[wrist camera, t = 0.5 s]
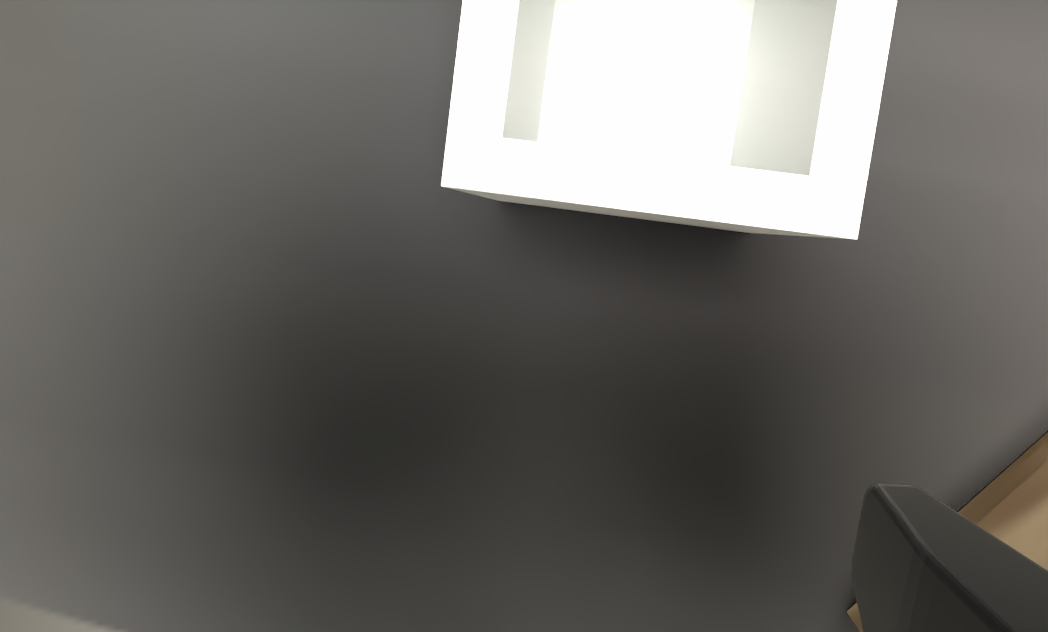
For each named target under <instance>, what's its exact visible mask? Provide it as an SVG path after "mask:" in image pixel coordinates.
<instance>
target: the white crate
mask: <svg viewBox="0 0 1048 632" xmlns="http://www.w3.org/2000/svg"><path fill="white" fill-rule="evenodd" d="M896 3H897V0H463V3H462V11H461V19H460V28H459V36H458V45H457V53H456V62H455V70H454V79H453V87H452V96H451V104H450V113H449V121H448V130H447V138H446V147H445V155H444V164H443V172H442V181H441V186H442V187H446V188H450V189H454V190H458V191H462V192H466V193H470V194H474V195H478V196H482V197H486V198H490V199H494V200H498V201H504V202H512V203H520V204H527V205H535V206H543V207H551V208H559V209H566V210H574V211H582V212H590V213H597V214H605V215H613V216H621V217H629V218H636V219H644V220H652V221H660V222H667V223H675V224H683V225H691V226H699V227H706V228H714V229H722V230H730V231H737V232H745V233H758V234H775V235H791V236H807V237H824V238H840V239H857V238H858V232H859V226H860V220H861V214H862V208H863V202H864V196H865V190H866V184H867V178H868V172H869V166H870V160H871V154H872V148H873V142H874V136H875V130H876V124H877V118H878V112H879V106H880V100H881V94H882V88H883V82H884V76H885V70H886V64H887V58H888V51H889V45H890V39H891V33H892V27H893V21H894V15H895V9H896Z"/></svg>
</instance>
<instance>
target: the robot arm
mask: <svg viewBox="0 0 1048 632" xmlns="http://www.w3.org/2000/svg"><path fill="white" fill-rule="evenodd" d="M852 578H853V585H854V590H855V595H856V600H857V605H858V610H859V615H860V620H861V625H862V629H863V632H1048V570H1046V569H1045V568H1043V567H1042V566H1040V565H1038V564H1037V563H1035V562H1034V561H1032V560H1031V559H1029V558H1028V557H1026V556H1025V555H1023V554H1021V553H1020V552H1018V551H1017V550H1015V549H1014V548H1012V547H1011V546H1009V545H1007V544H1006V543H1004V542H1003V541H1001V540H1000V539H998V538H997V537H995V536H994V535H992V534H990V533H989V532H987V531H986V530H984V529H983V528H981V527H980V526H978V525H977V524H975V523H973V522H972V521H970V520H969V519H967V518H966V517H964V516H963V515H961V514H959V513H958V512H956V511H955V510H953V509H952V508H950V507H949V506H947V505H946V504H944V503H942V502H941V501H939V500H938V499H936V498H935V497H933V496H932V495H930V494H929V493H927V492H925V491H924V490H922V489H921V488H919V487H917V486H913V485H901V484H881V483H879V484H873V485H871V486H870V487H869V488H868V490H867V492H866V494H865V496H864V500H863V505H862V511H861V516H860V521H859V526H858V532H857V537H856V542H855V548H854V553H853V559H852Z"/></svg>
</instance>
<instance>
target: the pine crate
mask: <svg viewBox="0 0 1048 632" xmlns="http://www.w3.org/2000/svg"><path fill="white" fill-rule="evenodd" d="M958 513H959V514H961V515H963V516H964V517H966V518H967V519H969V520H970V521H972V522H973V523H975V524H977V525H978V526H980V527H981V528H983V529H984V530H986V531H987V532H989V533H990V534H992V535H994V536H995V537H997V538H998V539H1000V540H1001V541H1003V542H1004V543H1006V544H1007V545H1009V546H1011V547H1012V548H1014V549H1015V550H1017V551H1018V552H1020V553H1021V554H1023V555H1025V556H1026V557H1028V558H1029V559H1031V560H1032V561H1034V562H1035V563H1037V564H1038V565H1040V566H1042V567H1043V568H1045V569H1046V570H1048V432H1047V433H1046V434H1045V435H1044V436H1043V437H1042V438H1040V439H1039V440H1038V441H1037V442H1036V443H1035V444H1034V445H1033V446H1031V447H1030V448H1029V449H1028V450H1027V451H1026V452H1025V453H1024V454H1023V455H1021V456H1020V457H1019V458H1018V459H1017V460H1016V461H1015V462H1014V463H1012V464H1011V465H1010V466H1009V467H1008V468H1007V469H1006V470H1005V471H1003V472H1002V473H1001V474H1000V475H999V476H998V477H997V478H996V479H994V480H993V481H992V482H991V483H990V484H989V485H988V486H987V487H986V488H984V489H983V490H982V491H981V492H980V493H979V494H978V495H977V496H975V497H974V498H973V499H972V500H971V501H970V502H969V503H968V504H966V505H965V506H964V507H963V508H962V509H961V510H960V511H959V512H958ZM847 613H848V615H849V616H850V618H851V619H852V621H853V622H854V624H855V625H856V627H857V628H858V630H859V631H860V632H863V629H862V625H861V620H860V615H859V610H858V605H857V603H856V604H854V605H853V606H852V607H851V608H850V609H849V610H848V611H847Z"/></svg>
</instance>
